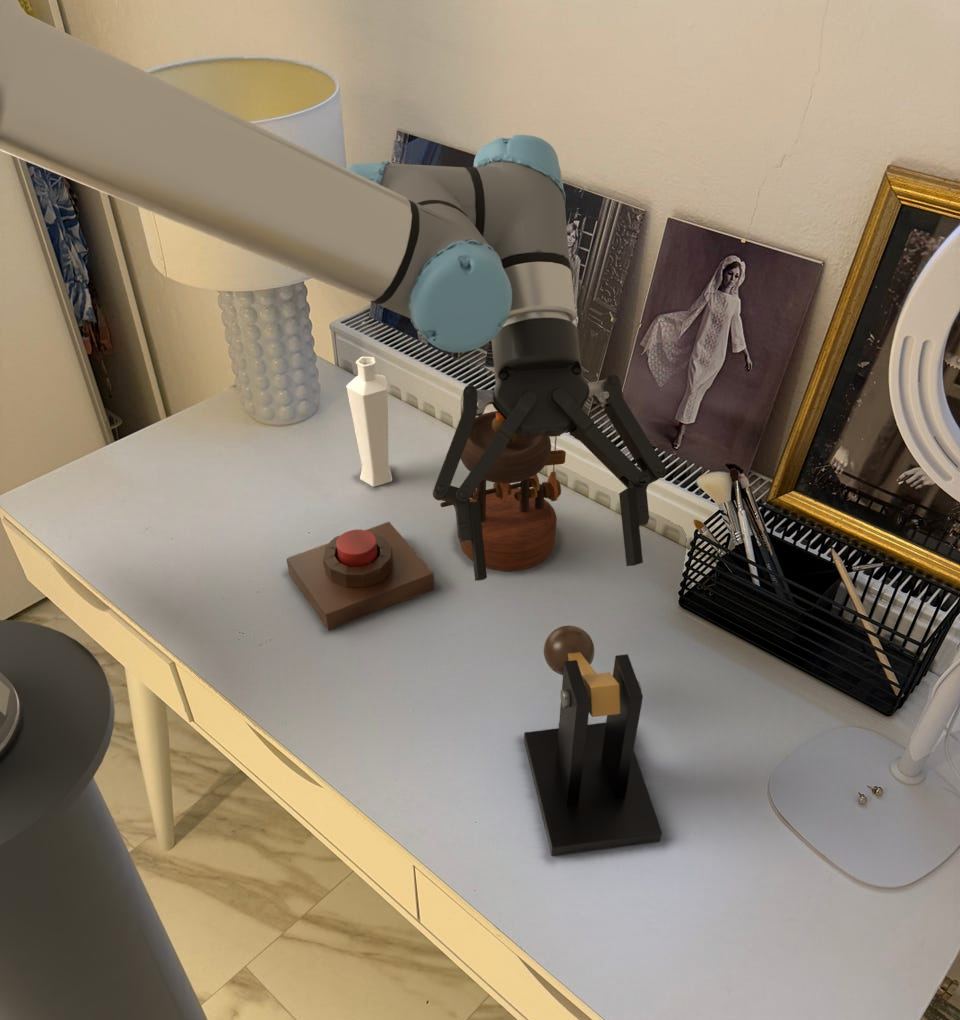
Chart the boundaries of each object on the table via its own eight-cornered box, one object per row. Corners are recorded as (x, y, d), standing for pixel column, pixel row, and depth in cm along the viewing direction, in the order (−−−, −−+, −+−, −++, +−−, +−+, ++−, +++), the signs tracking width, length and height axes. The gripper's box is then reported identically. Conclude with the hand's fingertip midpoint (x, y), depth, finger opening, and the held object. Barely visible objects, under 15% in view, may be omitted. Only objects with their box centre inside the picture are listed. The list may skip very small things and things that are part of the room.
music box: (533, 493, 111) (552, 340, 96) (584, 553, 105) (612, 400, 90) (414, 532, 106) (414, 377, 91) (460, 598, 100) (468, 443, 85)
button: (348, 572, 96) (346, 559, 95) (331, 550, 99) (329, 537, 97) (384, 559, 98) (382, 545, 96) (366, 538, 100) (365, 524, 99)
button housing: (328, 630, 96) (323, 601, 93) (288, 574, 102) (283, 544, 99) (434, 589, 100) (432, 559, 97) (390, 537, 106) (387, 507, 103)
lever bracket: (523, 740, 86) (528, 629, 76) (622, 728, 86) (639, 617, 77) (551, 856, 77) (561, 747, 67) (660, 841, 78) (685, 732, 68)
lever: (540, 669, 86) (537, 622, 85) (588, 663, 87) (586, 617, 85) (578, 731, 72) (575, 676, 71) (635, 724, 73) (633, 669, 72)
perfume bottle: (405, 475, 114) (396, 360, 103) (377, 491, 112) (366, 375, 101) (379, 460, 116) (368, 345, 106) (351, 476, 114) (337, 360, 104)
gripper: (660, 332, 89) (683, 562, 89) (389, 351, 86) (413, 588, 86) (686, 303, 81) (711, 554, 81) (390, 323, 79) (417, 582, 79)
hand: (558, 572), depth 84 cm, fingers open, 13 cm apart
